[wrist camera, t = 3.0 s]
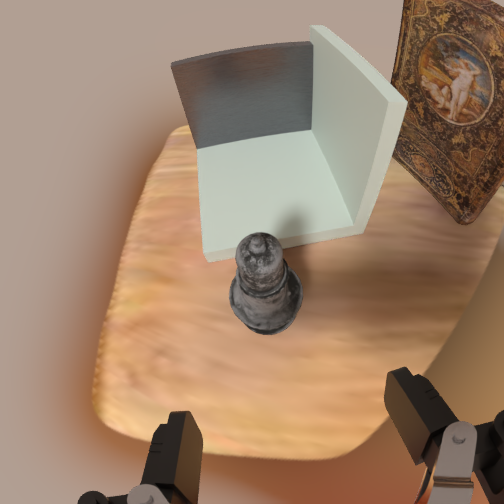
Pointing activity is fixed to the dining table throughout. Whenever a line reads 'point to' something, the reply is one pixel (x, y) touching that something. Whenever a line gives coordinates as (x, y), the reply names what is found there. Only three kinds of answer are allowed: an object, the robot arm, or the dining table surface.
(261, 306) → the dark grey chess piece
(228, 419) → the dining table surface
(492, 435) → the robot arm
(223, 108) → the shelf
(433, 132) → the book
